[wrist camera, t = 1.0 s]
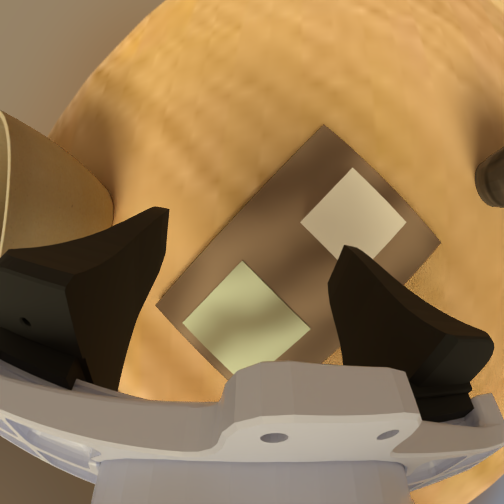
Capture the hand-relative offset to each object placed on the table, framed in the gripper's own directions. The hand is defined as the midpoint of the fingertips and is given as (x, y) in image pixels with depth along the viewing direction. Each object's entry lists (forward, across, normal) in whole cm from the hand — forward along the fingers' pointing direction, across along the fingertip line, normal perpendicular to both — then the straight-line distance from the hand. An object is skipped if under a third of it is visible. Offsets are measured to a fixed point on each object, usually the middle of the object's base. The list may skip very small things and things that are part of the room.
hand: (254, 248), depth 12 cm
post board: (+10, -5, +8) cm, 14 cm away
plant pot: (+17, +16, +10) cm, 25 cm away
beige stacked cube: (+11, -8, +2) cm, 14 cm away
